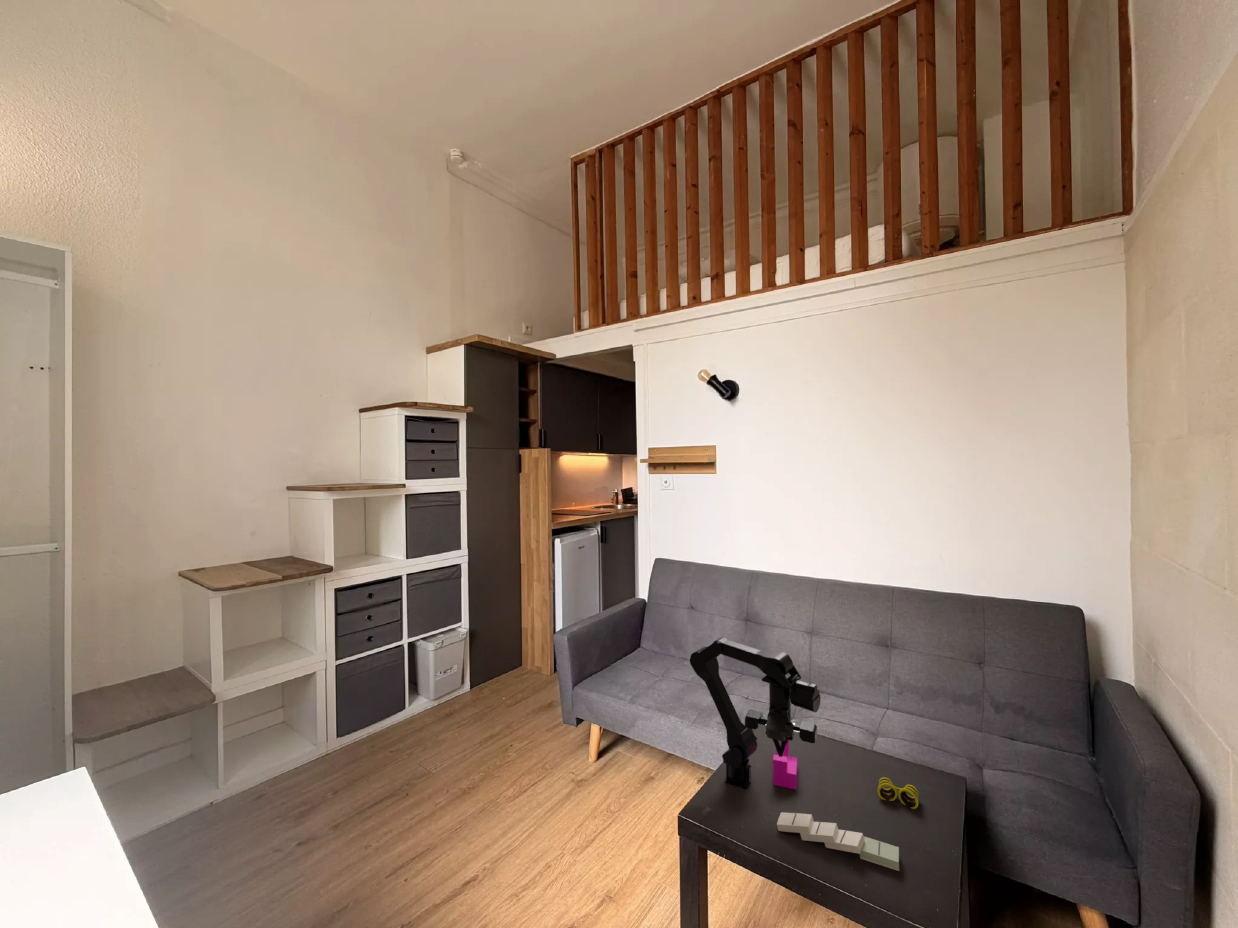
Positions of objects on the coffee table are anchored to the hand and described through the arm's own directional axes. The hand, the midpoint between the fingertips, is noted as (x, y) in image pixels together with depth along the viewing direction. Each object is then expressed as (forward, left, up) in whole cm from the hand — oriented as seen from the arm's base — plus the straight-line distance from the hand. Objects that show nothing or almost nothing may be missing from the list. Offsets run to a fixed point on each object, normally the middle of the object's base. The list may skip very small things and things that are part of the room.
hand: (780, 755), depth 136 cm
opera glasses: (+29, +14, -12) cm, 34 cm away
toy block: (-1, +13, -12) cm, 18 cm away
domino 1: (+1, -10, -11) cm, 15 cm away
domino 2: (+7, -11, -11) cm, 17 cm away
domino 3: (+13, -11, -11) cm, 20 cm away
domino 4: (+20, -10, -12) cm, 26 cm away
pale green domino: (+20, -10, -11) cm, 25 cm away
